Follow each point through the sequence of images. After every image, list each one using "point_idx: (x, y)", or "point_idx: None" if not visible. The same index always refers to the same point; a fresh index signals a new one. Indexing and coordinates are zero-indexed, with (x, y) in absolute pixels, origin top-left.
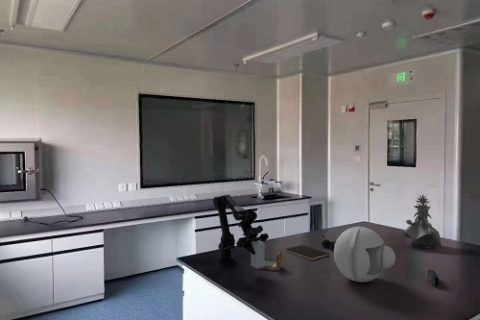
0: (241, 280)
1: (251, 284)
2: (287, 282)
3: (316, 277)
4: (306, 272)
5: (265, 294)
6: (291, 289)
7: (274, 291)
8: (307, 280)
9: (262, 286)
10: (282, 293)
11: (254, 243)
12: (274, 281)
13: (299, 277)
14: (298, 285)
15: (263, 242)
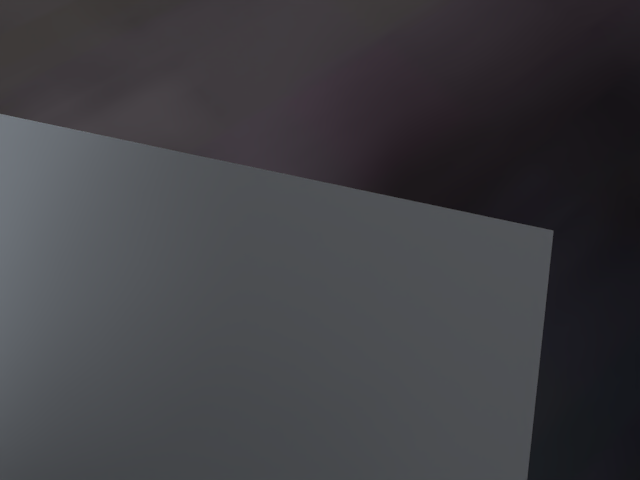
0: (581, 443)
1: (566, 280)
2: (296, 91)
3: (84, 14)
4: (18, 107)
5: (612, 69)
6: (389, 7)
7: (513, 59)
8: (171, 23)
9: (515, 178)
10: (493, 7)
11: (529, 437)
12: (349, 172)
13: (148, 87)
14: (294, 14)
15: (8, 157)
